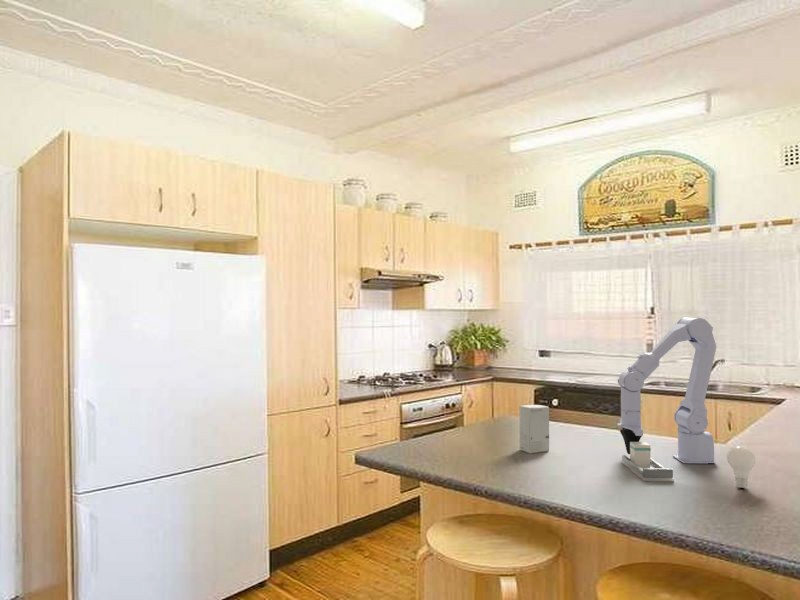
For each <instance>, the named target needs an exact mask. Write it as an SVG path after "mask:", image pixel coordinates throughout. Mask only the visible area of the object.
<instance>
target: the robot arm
mask: <svg viewBox="0 0 800 600" xmlns="http://www.w3.org/2000/svg"><path fill="white" fill-rule="evenodd" d="M713 329H714V327H713V326H712V325H711V324H710V322H709V321H708V320H706V319H705V318H703V317H696V318H695V317H687V316H685V317H681V318H680V319H679V320H678V321H677V322H676V323H674V324H673V325H672V326H671V328H670V329H669V330H668V332H667V333H665V335H664V336H663V337H662V338H661V339H660V341H659V342H658V343H657V344H656V345H655V346H654V348H653V349H651V351H650V352H644V353H642V354H639V355H638V356H637V358H638V359H636V360H635V361H634V363H633V364H632V365H631V366H630V365H629V366H627V368H626V369H627V370H626V371H625V370H624V371H622V372H621V373H620V374H619V376H618V379H617V383H618V385H619V386H620V419H619V423H617V424H616V426H617V427H619V428H623V429H620V430H619V432H620V434H621V436H622V438H623V439H622V440H623V441H624V446H625V450H626V454H628V455H630V442H640V440H641V438H642V437H643V436H644V429H643V428H642V427H643V425H642V410H641V408H642V406H641V405H642V403H641V400H642V399H641V389H643V387H644V385H645V381H646V380H647V379H648V378H649V377H650V376H651V375H652V374H653V372H655V371H656V370H657V369H658V367H659V366H660V360H661V359H662V358H663V357H664V356H665V355H667V354H668V352H669V351H671V350H672V349H673V348H674V347H675V346H676V345H677V344H678V343H680V342H681V343H682V342H685V341H686V342H687V341H688V342H689V343H690V344H691V345H692V346H693V348H694V349H695V350H694V355H693V360H692V364H691V368H690V373H689V378H688V381H687V386H686V391H685V396H684V398H683V399H682V401H680V403H679V406H678V407H677V409H676V410H675V412H674V415H673V421H675V423H676V425H677V454H673V455H672V457H673V458H675V459H676V460H677V461H680V462H681V463H683V464H708V463H715V464H716V461H715V441H714V437H713V434H712V433H711V432H709V431H706V429H707V428H708V426H709V421H708V416H707V415H708V409H707V406H706V404H705V402H706V401H705V400H706V396H707V391H708V387H709V382H710V377H711V373H712V368H713V364H714V359H715V355H716V351H717V343H716V339H715V338H714V334H713Z"/></svg>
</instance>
